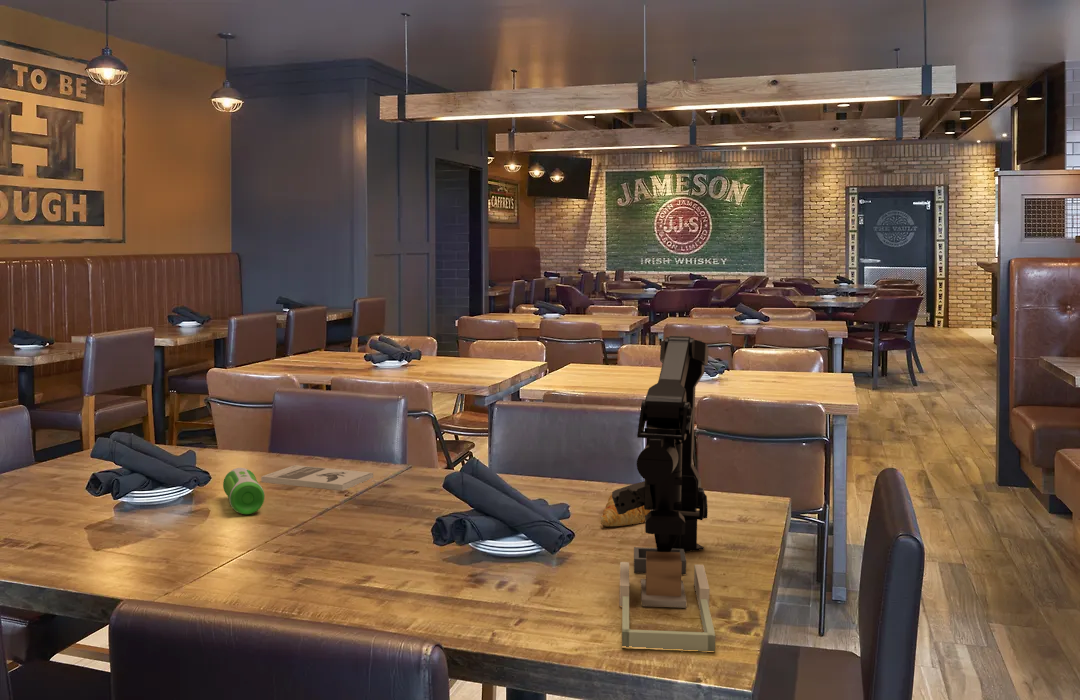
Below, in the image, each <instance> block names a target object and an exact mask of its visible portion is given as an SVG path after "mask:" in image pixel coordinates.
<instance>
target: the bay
mask: <svg viewBox="0 0 1080 700" xmlns="http://www.w3.org/2000/svg"><path fill="white" fill-rule="evenodd" d="M621 608H622V609H621V610H622V611H621V612H622V617H621V621H622V623H621V647H622V646H626V647H629V646H632V647H646V648H663V649H683V650H698V651H715V652H716V632H715V628H714V627H715V626H714V624H713V619H712V616H711V610H710V605H709V606H708V602H707V599H700V610H699V616H700V615H701V617H700V621H701V620H702V622H701V626H702V625H703V627H702V632H701V631H700V632H699V631H682V630H681V631H677V630H676V631H675V630H652V629H648V630H647V629H631V628H630V595H629V596H623V601H622V607H621ZM703 630H704V632H703Z"/></svg>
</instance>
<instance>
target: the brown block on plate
mask: <svg viewBox="0 0 1080 700" xmlns="http://www.w3.org/2000/svg"><path fill="white" fill-rule="evenodd" d="M681 574H682V562H681V556H680V552H653V551H646V573H645V578H640V594H641V595H640V596H641V598H640V599H641V607H654V608H655V607H656V608H657V607H659V608H680V609H681V608H683V609H687V605H688V604H687V596H686V590H685V584H684V580H682V575H681Z"/></svg>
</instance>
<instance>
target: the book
mask: <svg viewBox="0 0 1080 700" xmlns="http://www.w3.org/2000/svg"><path fill="white" fill-rule="evenodd" d="M371 478H373V479H374V472H369V471H358V470H350V469H348V470H347V469H340V468H339V469H338V468H330V467H329V468H328V467H321V466H320V467H319V466H308V465H307V466H306V465H297V464H295V465H291V466H287V467H286V468H285V467H284V468H282V469H280V470H279V469H278V470H276V471H273V472H270V473H267V474H264V475H261V477H260V480H261V481H260V482H261V483H265V484H267V483H268V484H276V485H284V486H285V485H286V486H294V487H304V488H313V489H324V490H332V491H343V492H344V491H345V490H348V489H350V487H351V488H353V487H355V485H356V486H358V485H360V484H359V483H361V484H363V483H365V482H364V481H366V482H368V481H370V480H369V479H371ZM367 480H368V481H367ZM371 480H372V479H371ZM362 482H363V483H362ZM357 484H358V485H357Z"/></svg>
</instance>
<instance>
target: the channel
mask: <svg viewBox="0 0 1080 700" xmlns="http://www.w3.org/2000/svg"><path fill="white" fill-rule="evenodd" d="M693 569H694V571H693V572H694V574H693V575H694V576H693V586H695V587H694V591H696V592H695V596H696V595H697V596H696V601H697V600H698V601H697V606H698V605H699V606H698V610H699V609H700V599H707V602H708V606H709V607H710V585H709V581H708V577H707V573H706V569H705V566H704V564H694V568H693ZM623 596H629V597H630V561H628V562H627V561H620V563H619V606H622V601H623Z"/></svg>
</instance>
